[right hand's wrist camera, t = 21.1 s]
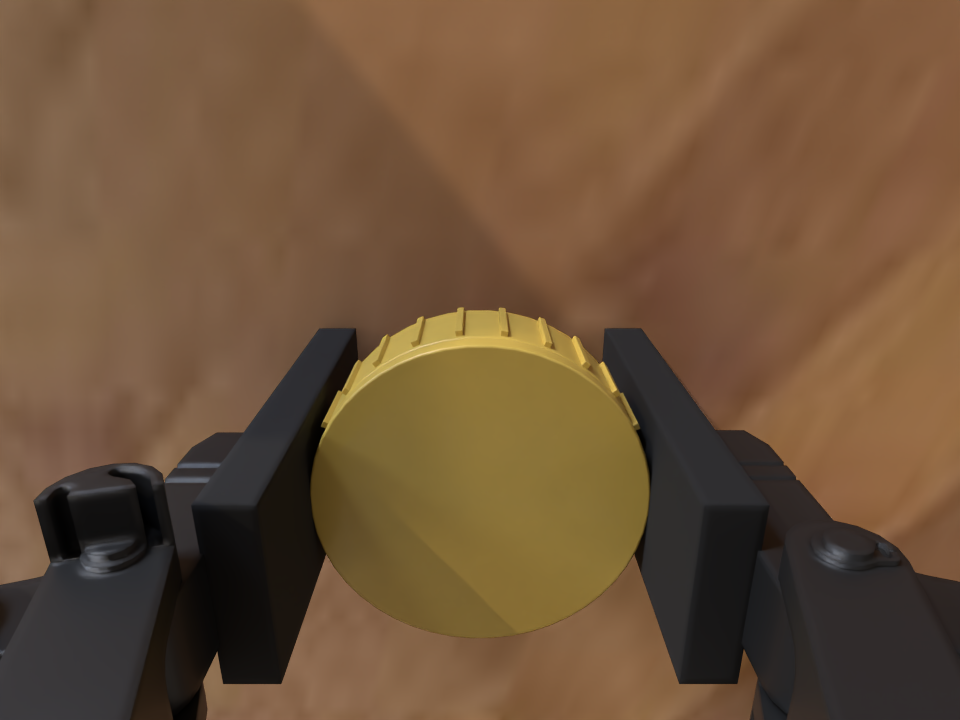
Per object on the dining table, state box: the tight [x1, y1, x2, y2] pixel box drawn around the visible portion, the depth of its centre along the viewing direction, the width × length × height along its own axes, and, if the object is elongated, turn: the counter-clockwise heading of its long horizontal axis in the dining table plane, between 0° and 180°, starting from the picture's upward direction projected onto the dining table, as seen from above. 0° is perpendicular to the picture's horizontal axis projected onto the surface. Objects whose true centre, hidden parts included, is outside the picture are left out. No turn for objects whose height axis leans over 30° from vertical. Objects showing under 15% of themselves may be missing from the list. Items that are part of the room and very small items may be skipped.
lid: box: [310, 307, 650, 638], centre depth 11 cm, size 5×5×2 cm
